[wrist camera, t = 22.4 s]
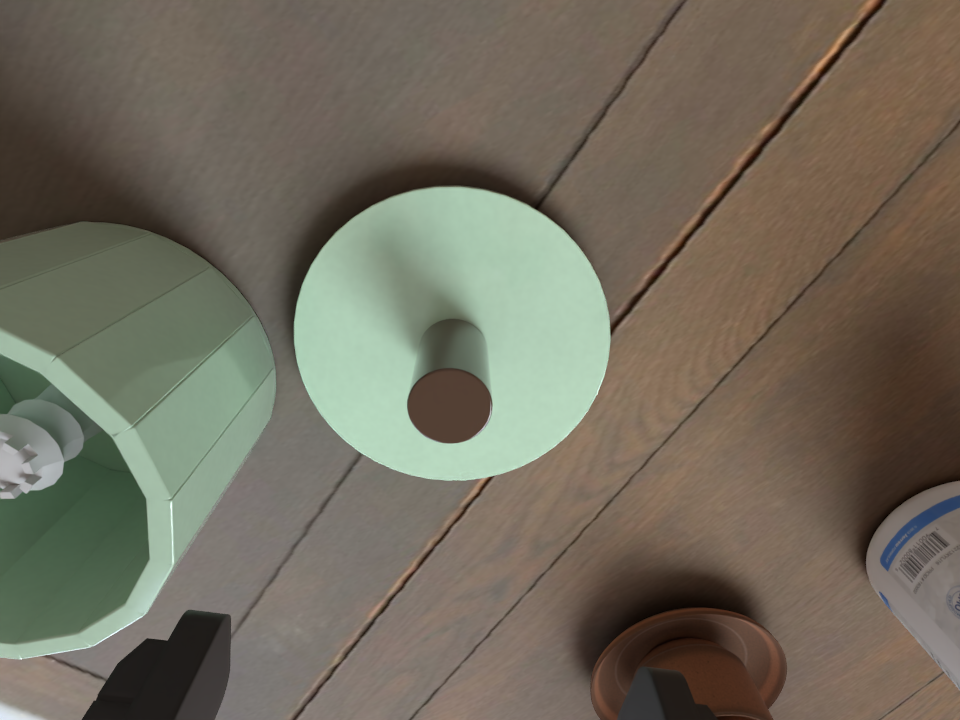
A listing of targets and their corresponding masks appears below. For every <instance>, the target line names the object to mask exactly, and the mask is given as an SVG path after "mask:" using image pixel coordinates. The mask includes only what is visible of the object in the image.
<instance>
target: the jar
mask: <svg viewBox="0 0 960 720" xmlns="http://www.w3.org/2000/svg"><path fill="white" fill-rule="evenodd" d="M51 384H53V385H54V386H55V387H56V388H57V389H58V390H60V391H61V392H62V393H63V394H64V395H65V396H66V397H67V398H69V399H70V400H71V401H72V402H73V403H74V404H75V405H76V406H77V407H79V408H80V409H81V410H82V411H83V412H84V413H85V414H86V415H88V416H89V417H90V418H91V419H92V420H93V421H94V422H95V423H96V424H98V425H99V426H100V427H101V428H102V429H103V431H101V432H100V433H98V434H96V435H95V436H93V437H91V438H90V439H88V440H87V441H85V442H84V443H83V449H82V450H81V451H80V452H79V454H78V455H77V456H76V457H75V458H72V459H70V460H68V461H65V462H64V466H63V474H62V475H61V476H60V478H59V479H58V480H57V481H56V483H55V484H54V485H51V486H49V487H47V488H44V489H42V490H30V491H29V492H28V493H24V492H22V493H21V494H20V495H19V496H17V497H16V498H15V499H1V498H0V657H1V658H10V659H26V658H31V657H37V656H43V655H49V654H55V653H61V652H67V651H73V650H79V649H85V648H90V647H91V646H95V645H96V644H98V643H100V642H101V641H103V640H105V639H106V638H108V637H110V636H111V635H113V634H115V633H116V632H118V631H120V630H121V629H123V628H125V627H126V626H128V625H130V624H131V623H133V622H135V621H136V620H138V619H140V618H141V617H143V616H144V615H145V614H147V612H148V611H149V609H150V608H151V606H152V605H153V603H154V602H155V600H156V598H157V597H158V595H159V594H160V592H161V591H162V589H163V588H164V586H165V585H166V583H167V581H168V580H169V578H170V577H171V575H172V574H173V572H174V571H175V569H176V568H177V566H178V564H179V563H180V561H181V560H182V558H183V557H184V555H185V554H186V552H187V551H188V549H189V547H190V546H191V544H192V543H193V541H194V540H195V538H196V537H197V535H198V534H199V532H200V530H201V529H202V527H203V526H204V524H205V523H206V521H207V520H208V518H209V517H210V515H211V513H212V512H213V510H214V509H215V507H216V506H217V504H218V503H219V501H220V500H221V498H222V496H223V495H224V493H225V492H226V490H227V489H228V487H229V486H230V484H231V483H232V481H233V479H234V478H235V476H236V475H237V473H238V472H239V470H240V469H241V467H242V466H243V464H244V462H245V461H246V459H247V458H248V456H249V455H250V453H251V451H252V450H253V448H254V446H255V444H256V443H257V441H258V439H259V438H260V436H261V434H262V433H263V431H264V429H265V427H266V426H267V424H268V422H269V420H270V419H271V416H272V409H273V406H274V401H275V394H276V370H275V364H274V358H273V353H272V350H271V347H270V344H269V341H268V338H267V335H266V333H265V331H264V329H263V327H262V325H261V322H260V320H259V319H258V317H257V316H256V314H255V312H254V311H253V309H252V307H251V306H250V304H249V303H248V302H247V300H246V299H245V298H244V297H243V295H242V294H241V293H240V292H239V290H238V289H237V288H236V287H235V286H234V285H233V284H232V283H231V282H230V281H229V280H228V279H227V278H226V277H225V276H224V275H223V274H222V273H221V272H220V271H218V270H217V269H216V268H215V267H214V266H212V265H211V264H210V263H209V262H207V261H206V260H205V259H203V258H202V257H200V256H199V255H197V254H195V253H194V252H192V251H191V250H189V249H188V248H186V247H184V246H182V245H180V244H178V243H176V242H174V241H172V240H170V239H168V238H166V237H163V236H160V235H158V234H155V233H152V232H149V231H147V230H143V229H139V228H135V227H131V226H127V225H121V224H113V223H105V222H87V221H85V222H83V221H81V222H77V223H72V224H68V225H62V226H58V227H54V228H49V229H45V230H40V231H36V232H31V233H27V234H23V235H19V236H15V237H11V238H8V239H4V240H0V414H8V412H9V411H10V410H11V408H12V407H13V405H15V404H17V403H20V402H22V401H24V400H33V399H35V398H36V397H38V396H39V395H40V394H41V393H42V392H43V391H44V390H45V389H46V388H47V387H48V386H50V385H51ZM2 490H3V489H2V488H0V491H2Z"/></svg>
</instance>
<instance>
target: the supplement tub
mask: <svg viewBox="0 0 960 720" xmlns="http://www.w3.org/2000/svg"><path fill="white" fill-rule="evenodd" d="M866 570H867V574H868V578H869V580H870V583H871V585H872V587H873V589H874V590H875V591H876V593H877V594H878V596H879V597H880V598H881V599H882V600H883V602H884V603H885V604H886V605H887V606H888V608H889V609H890V610H891V611H892V612H893V613H894V615H895V616H896V617H897V618H898V619H899V620H900V622H901V623H902V624H903V625H904V626H905V627H906V628H907V630H908V631H909V632H910V633H911V634H912V635H913V637H914V638H915V639H916V640H917V641H918V642H919V643H920V645H921V646H922V647H923V648H924V649H925V650H926V652H927V653H928V654H929V655H930V656H931V657H932V658H933V660H934V661H935V662H936V663H937V664H938V665H939V666H940V668H941V669H942V670H943V671H944V672H945V673H946V675H947V676H948V677H949V678H950V679H951V680H952V681H953V683H954V684H955V685H956V686H957V687H958V688H959V690H960V481H955V482H950V483H946V484H942V485H939V486H936V487H933V488H930V489H928V490H925V491H923V492H921V493H919V494H917V495H915V496H913V497H912V498H910V499H908V500H907V501H905V502H904V503H903V504H901V505H900V506H899V507H897V508H896V509H895V510H894V511H893V512H892V513H890V514H889V515H888V516H887V517H886V519H885V520H884V521H883V522H882V523H881V525H880V526H879V527H878V529H877V530H876V532H875V534H874V535H873V537H872V539H871V542H870V544H869V547H868V551H867V557H866Z"/></svg>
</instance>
